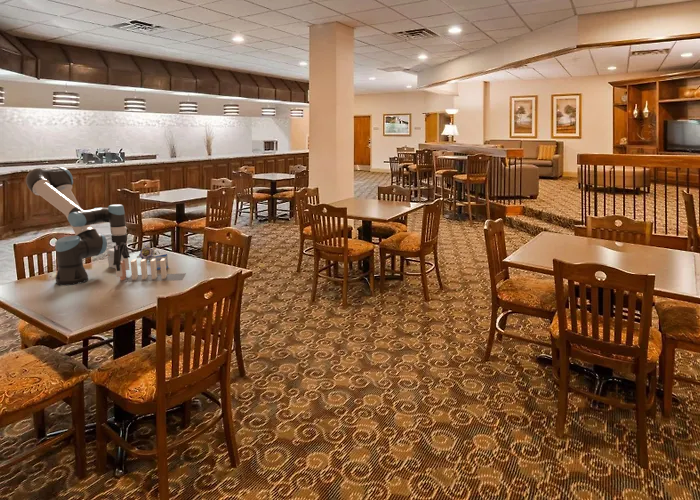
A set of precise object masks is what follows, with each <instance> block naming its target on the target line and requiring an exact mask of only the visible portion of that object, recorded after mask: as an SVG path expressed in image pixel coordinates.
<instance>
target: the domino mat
mask: <svg viewBox="0 0 700 500" xmlns="http://www.w3.org/2000/svg"><path fill="white" fill-rule="evenodd" d="M186 274H187V273H167V276H166V278H165V279H162V278H161V273H157V277H156V279H152V275H151V274H148V277H147V278H146V279H142V274H138V278H137V279H136V280H132V274H131V275H130V276H129V277H128V278H127V279H126V281H125V283H138V282H139V283H140V282H163V281H164V282H165V281H167V282H169V281H170V282H171V281H183V280H184V278H185V276H186Z"/></svg>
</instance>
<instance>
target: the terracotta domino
mask: <svg viewBox="0 0 700 500" xmlns="http://www.w3.org/2000/svg"><path fill="white" fill-rule="evenodd" d="M121 266H122V275H123V276H122V277H120V278H119V280H120V281H125V280H127V270H126V267H125V261H121Z"/></svg>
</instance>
